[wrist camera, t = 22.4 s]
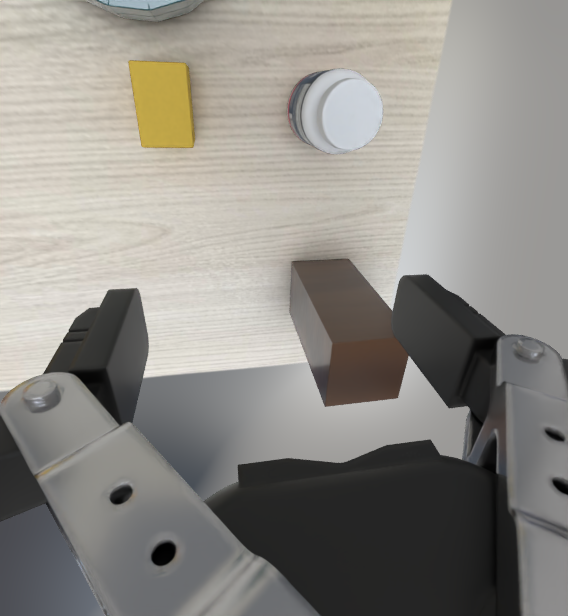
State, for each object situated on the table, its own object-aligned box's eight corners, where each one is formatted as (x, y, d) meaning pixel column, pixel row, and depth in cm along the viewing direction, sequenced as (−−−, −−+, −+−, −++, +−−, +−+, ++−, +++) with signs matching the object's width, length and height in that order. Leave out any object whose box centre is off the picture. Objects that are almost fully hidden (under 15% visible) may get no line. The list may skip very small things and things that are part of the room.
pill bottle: (356, 81, 29) (407, 78, 22) (338, 150, 32) (378, 168, 24) (293, 64, 28) (325, 54, 21) (279, 137, 31) (303, 152, 23)
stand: (291, 261, 37) (332, 343, 25) (348, 258, 38) (414, 336, 26) (289, 312, 40) (324, 407, 28) (342, 308, 41) (398, 398, 29)
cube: (138, 64, 26) (127, 60, 23) (188, 66, 27) (185, 62, 23) (149, 139, 29) (141, 147, 25) (195, 140, 30) (193, 147, 26)
